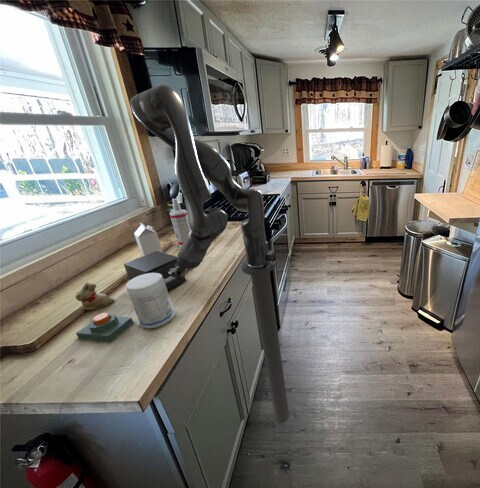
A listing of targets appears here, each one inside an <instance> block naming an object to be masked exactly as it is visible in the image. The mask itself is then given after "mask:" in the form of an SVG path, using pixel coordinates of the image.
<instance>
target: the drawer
mask: <svg viewBox="0 0 480 488" xmlns="http://www.w3.org/2000/svg"><path fill="white" fill-rule="evenodd" d="M176 264H177V261H174V262H172V263H170V264H167V265H165V266H163V267H161V268H158V269H156V270H154V271H152V272H149V273H159V274H161V275H162V277H163V279H164V282H165V285H166V288H167V291H169V290H171V289H173V288H174V286H175V287H177V286H178V285H177V284H179V283H180V284H182V283H184V282H186V281H187V280H186V275H185V276H184V278H183V279H181V280H179V279H177V278H175V277H171V275H170V274H169V273H168V272H167V270H168V269H172V268H175V265H176ZM185 280H186V281H185ZM183 281H184V282H183ZM181 282H182V283H181ZM180 284H179V285H180ZM176 285H177V286H176ZM172 287H173V288H172ZM170 288H171V289H170ZM168 289H169V290H168Z"/></svg>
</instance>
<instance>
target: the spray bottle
mask: <svg viewBox="0 0 480 488" xmlns="http://www.w3.org/2000/svg"><path fill="white" fill-rule="evenodd" d="M171 201H172V209H173V210H172V211H170V212H169V217H170V221H171V224H172V227H173V231H174V234H175V238H176V242H177V245H178V246H179V248H181V247H182V245H183V243H184V242H185V241H186V239H187V236H188V234H189V233H190V231H191V229H190V227H189V223H188V215H187V209H182V208H181V204H180V203H179V201H178V198H172V199H171Z"/></svg>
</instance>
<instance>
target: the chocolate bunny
mask: <svg viewBox="0 0 480 488" xmlns="http://www.w3.org/2000/svg"><path fill="white" fill-rule="evenodd" d="M96 288H97V284H96V283H92V282H89V281H87V282H85V283H84V285H83V286H82V288H81V289H80V290H78V291H77V292H76V293H75V300H77V301H79V302H81V303H82V304H81V305H82V306H83V307H85V309H84V310H86V311H93V310H98V309H101V308H104V307H107V306H109V305H110V304H112V303H114V299H113V298H111V297H110V296H108V295H107V294H105V293H97V292H96Z"/></svg>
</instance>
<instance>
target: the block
mask: <svg viewBox="0 0 480 488" xmlns="http://www.w3.org/2000/svg"><path fill="white" fill-rule="evenodd" d="M107 313H108V315H109V317H110V320H109V321H107V322H105V323H103V324H100V325H95V323H94V321H93V319H92V320H90V321H89V322H88V324H86V325H85V326H83V327H82V328H81V329H79V330H78V331H76V332H75V334H76V337H77V338H78V340H87V341H88V340H89V341H97V342H98V341H99V342H109V343H110V342H113V341H114V340H115V339H117V337H120V335H122V334H123V332H125V331H126V330H127V329H128V328H130V327H131V326H132V325H133V324H134V320H133V318H132V317H130V316H129V317H128V316H118V315H116V313H113V312H112V313H111V312H107Z"/></svg>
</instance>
